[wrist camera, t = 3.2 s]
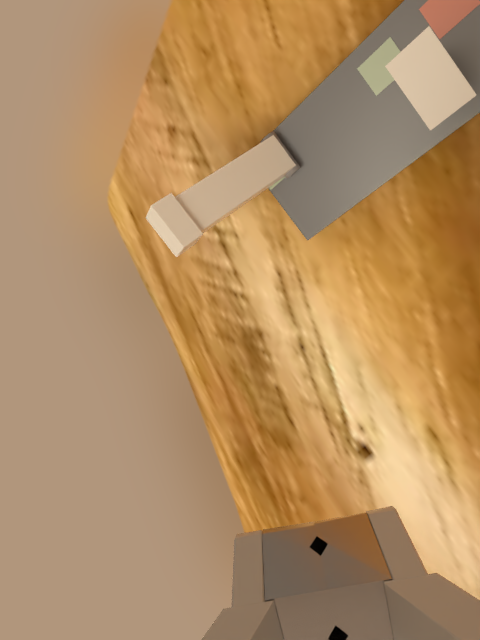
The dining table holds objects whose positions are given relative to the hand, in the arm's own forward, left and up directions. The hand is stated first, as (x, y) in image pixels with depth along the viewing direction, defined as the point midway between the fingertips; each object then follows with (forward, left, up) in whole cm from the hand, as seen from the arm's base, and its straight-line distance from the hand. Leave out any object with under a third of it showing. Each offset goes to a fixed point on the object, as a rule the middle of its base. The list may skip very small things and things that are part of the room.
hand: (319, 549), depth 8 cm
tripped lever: (0, -8, -31) cm, 32 cm away
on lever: (+12, -4, -31) cm, 33 cm away
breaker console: (+6, -6, -35) cm, 36 cm away
